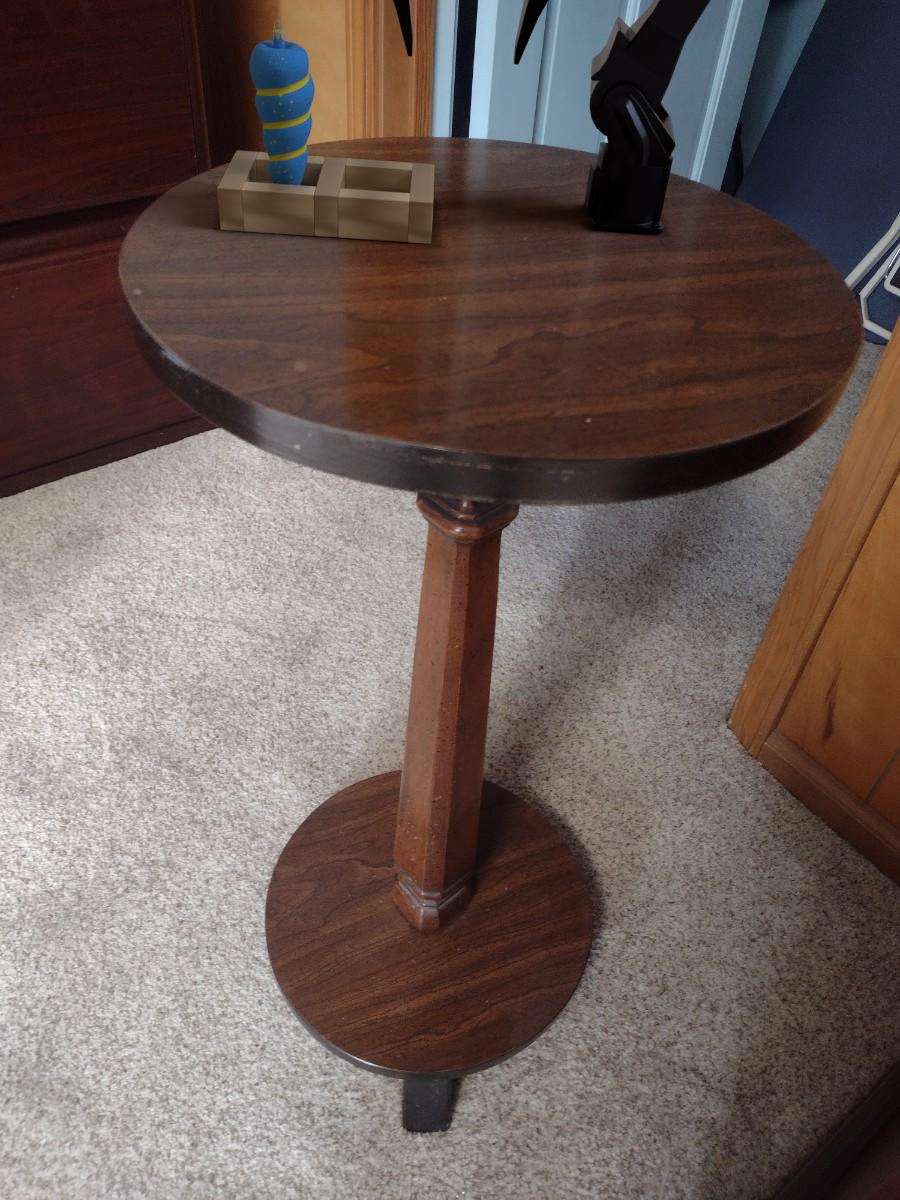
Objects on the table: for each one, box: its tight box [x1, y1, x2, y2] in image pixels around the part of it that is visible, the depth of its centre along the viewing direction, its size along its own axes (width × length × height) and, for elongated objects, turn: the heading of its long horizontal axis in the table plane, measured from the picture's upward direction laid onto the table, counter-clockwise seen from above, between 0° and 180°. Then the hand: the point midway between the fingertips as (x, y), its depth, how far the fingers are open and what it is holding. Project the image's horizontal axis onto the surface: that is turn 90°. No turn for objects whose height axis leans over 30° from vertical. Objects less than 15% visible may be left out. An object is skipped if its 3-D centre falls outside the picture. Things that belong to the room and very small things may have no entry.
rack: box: [216, 150, 435, 245], centre depth 86 cm, size 18×10×4 cm, turn 90°
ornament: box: [249, 20, 316, 185], centre depth 82 cm, size 5×5×15 cm
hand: (463, 59), depth 84 cm, fingers open, 9 cm apart
